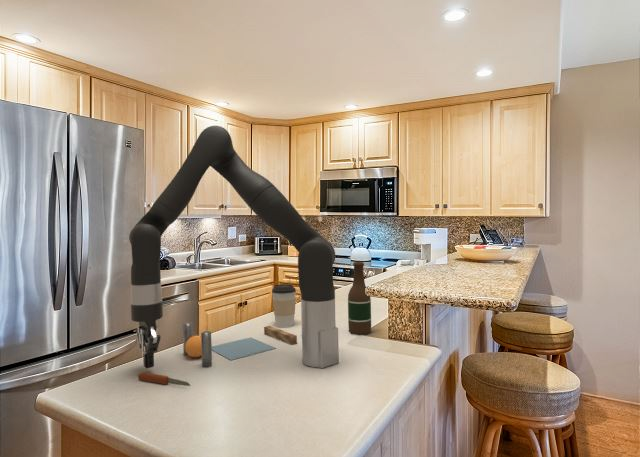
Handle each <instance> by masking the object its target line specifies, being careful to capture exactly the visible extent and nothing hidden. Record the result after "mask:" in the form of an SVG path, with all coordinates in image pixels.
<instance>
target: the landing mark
mask: <svg viewBox="0 0 640 457" xmlns="http://www.w3.org/2000/svg"><path fill="white" fill-rule="evenodd" d="M275 349H277V348H276V347H275V346H273V345H270V344H268V343H265V342H263V341H260V340H259V339H256V338H253V337H251V336H249V337H245V338H241V339H237V340H234V341H229V342H226V343H221V344H217V345H213V346H212V352H214V353H216V354H218V355H220V356H222V357H223V358H225V359H227V360H229V361H234V360H238V359H243V358H246V357H250V356H253V354H254V355H257V354H260V353H265V352H268V350H269V351H272V350H275Z"/></svg>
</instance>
